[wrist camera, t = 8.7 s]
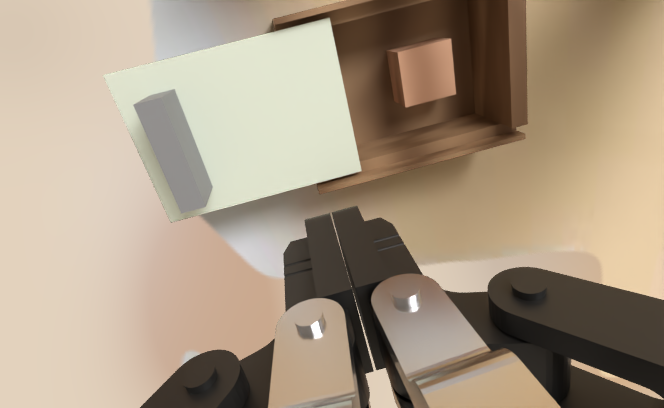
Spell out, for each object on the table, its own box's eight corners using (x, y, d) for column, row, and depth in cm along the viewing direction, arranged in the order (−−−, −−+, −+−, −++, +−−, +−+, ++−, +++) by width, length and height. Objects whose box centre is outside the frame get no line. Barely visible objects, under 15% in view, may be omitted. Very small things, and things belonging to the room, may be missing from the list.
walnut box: (475, -31, 30) (525, -45, 24) (484, 121, 35) (527, 139, 29) (272, 20, 30) (272, 18, 24) (311, 167, 35) (320, 196, 29)
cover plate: (328, 17, 26) (338, 15, 22) (359, 168, 30) (372, 188, 26) (106, 74, 25) (78, 82, 21) (172, 219, 29) (158, 246, 26)
